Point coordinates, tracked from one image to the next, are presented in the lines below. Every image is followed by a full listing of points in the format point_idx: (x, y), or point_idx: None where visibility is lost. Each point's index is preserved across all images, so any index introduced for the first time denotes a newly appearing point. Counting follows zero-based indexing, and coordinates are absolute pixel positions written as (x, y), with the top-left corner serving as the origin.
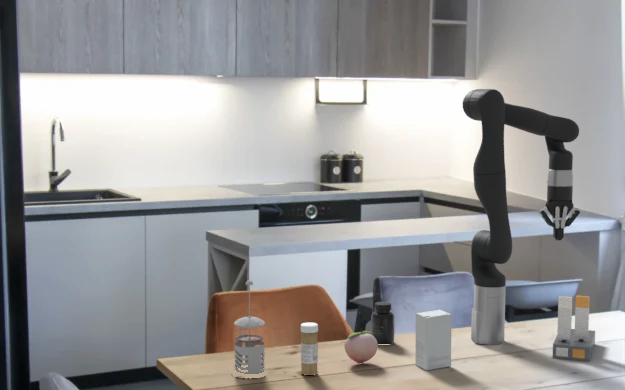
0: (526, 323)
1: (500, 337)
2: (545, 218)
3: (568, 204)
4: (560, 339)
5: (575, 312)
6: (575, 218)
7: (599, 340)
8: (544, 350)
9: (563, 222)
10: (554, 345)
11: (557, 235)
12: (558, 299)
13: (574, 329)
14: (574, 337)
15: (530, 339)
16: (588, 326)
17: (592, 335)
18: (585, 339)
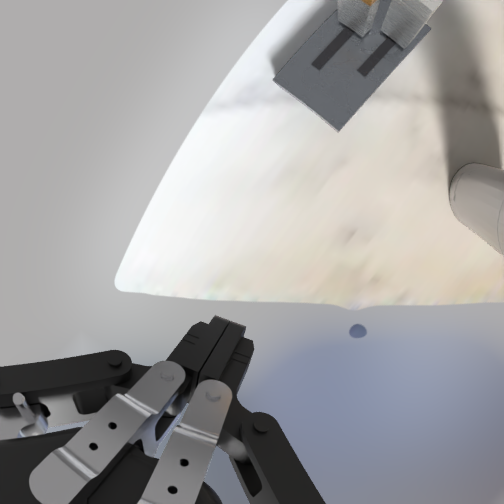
0: (314, 288)
1: (475, 165)
2: (312, 492)
3: (10, 490)
4: (398, 46)
5: (378, 2)
6: (39, 363)
7: (249, 109)
8: (413, 84)
9: (145, 395)
10: (428, 27)
11: (235, 344)
12: (440, 4)
13: (314, 105)
14: (371, 27)
15: (392, 170)
16: (338, 9)
17: (305, 46)
18: (342, 25)
